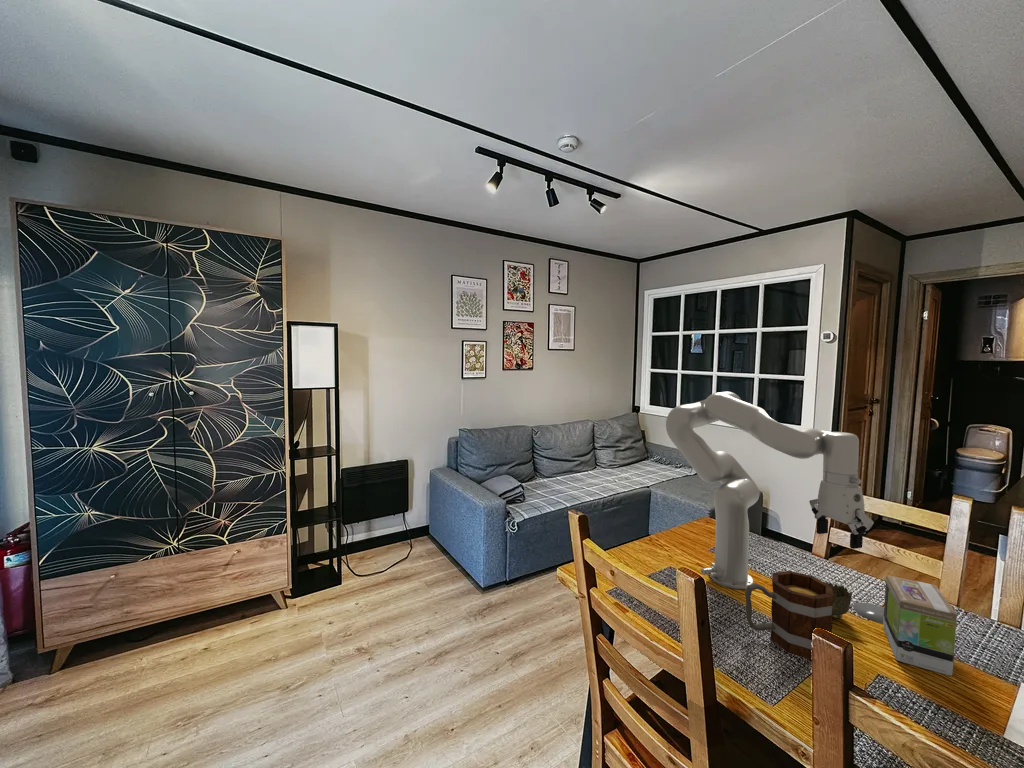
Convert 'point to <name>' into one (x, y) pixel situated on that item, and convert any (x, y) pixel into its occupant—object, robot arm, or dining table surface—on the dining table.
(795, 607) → the mug
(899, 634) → the tea box
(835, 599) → the cup
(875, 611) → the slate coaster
